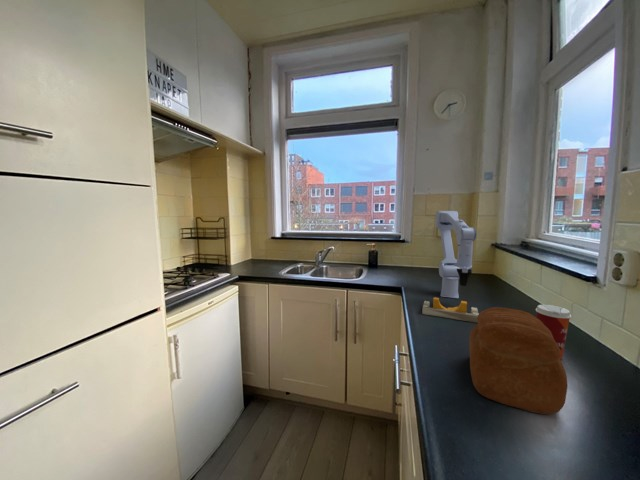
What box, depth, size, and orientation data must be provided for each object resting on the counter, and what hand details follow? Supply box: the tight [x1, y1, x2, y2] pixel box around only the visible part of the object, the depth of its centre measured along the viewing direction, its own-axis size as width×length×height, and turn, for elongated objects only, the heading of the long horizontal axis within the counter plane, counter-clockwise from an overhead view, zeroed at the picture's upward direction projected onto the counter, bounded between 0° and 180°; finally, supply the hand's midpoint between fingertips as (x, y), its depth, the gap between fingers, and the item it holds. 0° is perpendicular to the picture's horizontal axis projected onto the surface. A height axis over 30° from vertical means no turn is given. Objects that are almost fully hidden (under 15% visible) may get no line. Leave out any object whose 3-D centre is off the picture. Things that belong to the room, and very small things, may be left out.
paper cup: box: [535, 304, 572, 361], centre depth 74 cm, size 8×8×14 cm
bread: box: [468, 306, 568, 415], centre depth 62 cm, size 18×22×17 cm
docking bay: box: [421, 300, 480, 324], centre depth 106 cm, size 10×20×2 cm, turn 63°
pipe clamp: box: [432, 296, 468, 313], centre depth 105 cm, size 12×4×6 cm, turn 63°
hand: (463, 285), depth 114 cm, fingers closed
